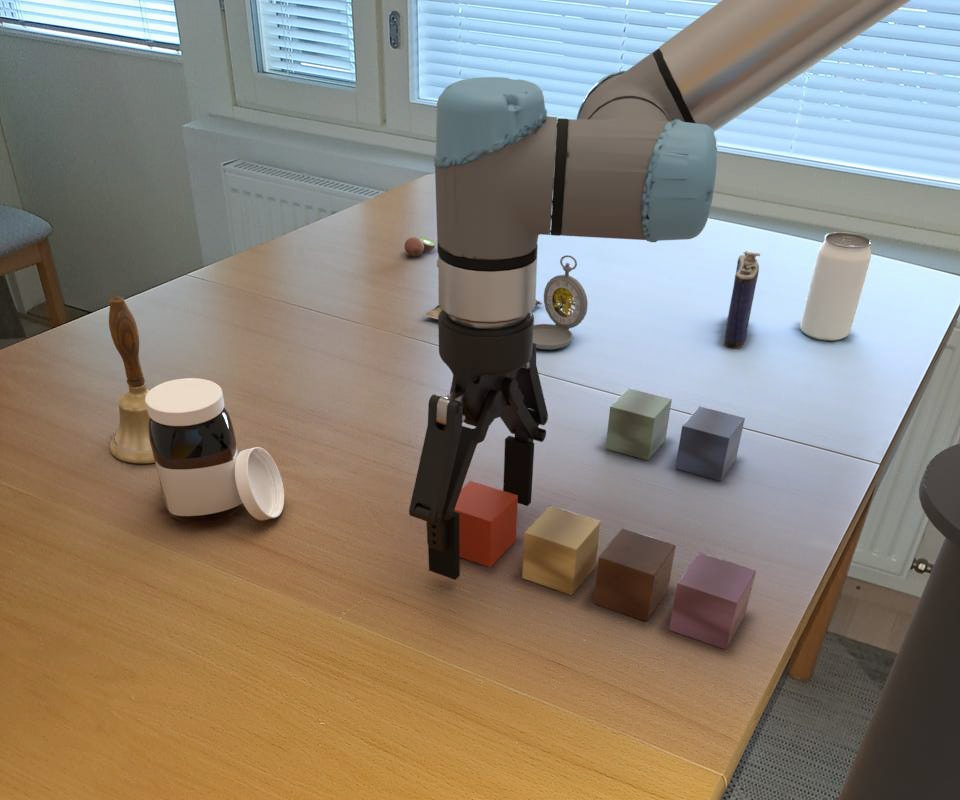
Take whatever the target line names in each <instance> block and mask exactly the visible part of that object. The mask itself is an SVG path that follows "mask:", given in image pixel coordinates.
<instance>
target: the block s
mask: <svg viewBox="0 0 960 800" xmlns="http://www.w3.org/2000/svg"><path fill="white" fill-rule="evenodd" d="M518 505H519V503H518V495H515V494H512V493H509V492H505V491H503V489H498V488H496V487H493V486H489V485H486V484H482V483H480V482H476V481H473V480H470V481H468V482H467V483H466V484H465V485H463V486H462V489H461V492H460V495H459V498H458V501H457V504H456V507H455V510H454V512H457V513H459V535H460V558H462V559H465V560H467V561H470V562H474V563H476V564H479V565H482V566H485V567H487V568H491V567H493V565H494V564H495V563H496V562H497V561H498V560H499V559H501V557H502V556H503V555H504V554H505V553H506V552H507V550H508V549H510V547H511V546H512V545H513V544H514V543H515V542H516V541H517V525H518V524H517V523H518Z"/></svg>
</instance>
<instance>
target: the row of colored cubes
mask: <svg viewBox="0 0 960 800" xmlns="http://www.w3.org/2000/svg"><path fill="white" fill-rule="evenodd" d="M600 530H601V520H598V519H595V518H592V517H589V516H586V515H582V514H579V513H576V512H573V511H570V510H567V509H564V508H560V507H557V506H554V505H549V506H548V507H547V508H546V509H545V510H544V511H543V512H542V513H541V514H540V515H539V517H537V519H535V521H534V522H533V523H532V524H531V525H530V526H529V527H528V528H527V529H526V530H525V531H524V535H523V538H524V539H523V552H522V553H523V555H522V570H521V571H522V572H521V573H522V575H521V579H523V580H527V581H529V582H531V583H535V584H537V585H540V586H542V587H543V586H544V587H546V588H549V589H552V590H555V591H558V592H560V593H564V594H565V595H569V596H573V595H574V594H575V593H576V592H577V590H578V589H579V587H580V586H581V585H582V584H583V583H584V581H586V579H587V578H588V577H589V575H590V574H591V573H592V572H593V570H594V569H595V568H596V566H597V569H596V576H595V586H594V594H593V604H595V605H598V606H601V607H604V608H606V609H609V610H612V611H614V612H617V613H620V614H623V615H626V616H628V617H629V616H630V617H631V618H635V619H638V620H640V621H644V622H647V621H648V620H649V619H650V618H651V616H652V614H653V613H654V612H655V610H656V609H657V607H658V606H659V604H660V603H661V602H662V600H663V598H664V597H665V595H666V594H667V592H668V591H669V586H670V580H671V574H672V569H673V564H674V558H675V553H676V548H677V547H676V546H677V545H676V544H674V543H671V542H667V541H664V540H661V539H658V538H655V537H652V536H649V535H646V534H643V533H639V532H637V531H633V530H630V529H627V528H621V529H620V530H619V531H618V532H617V534H616V535H615V536H614V538H613V539H611V541H610V543H608V545H606V547H605V548H604V550H603V551H602V552H601V553H600V555H599V556H598V550H599V549H598V548H599V539H600V532H601V531H600ZM597 557H598V559H597ZM756 573H757V570H756V569H754V568H751V567H747V566H744V565H741V564H737V563H734V562H732V561H729V560H726V559H722V558H719V557H716V556H712V555H710V554H706V553H703V552H697V554H696V556H695V557H694V559H692V561H691V562H690V564H689V565H688V567H687V569H686V570H685V572H684V573H683V575H682V576H681V577H680V579H679V580H678V582H677V583H676V584H677V585H676V591H675V596H674V599H673V607H672V610H671V617H670V621H669V628H668V630H669V631H672V632H674V633H676V634H677V633H678V634H680V635H683V636H686V637H689V638H692V639H694V640H696V641H699V642H702V643H706V644H708V645H711V646H714V647H717V648H718V649H719V648H720V649H723V650H727V648H728V647H729V645H730V643H731V641H732V640H733V638H734V635H735V634H736V633H737V631H738V629H739V627H740V626H741V624H742V622H743V620H744V619H745V617H746V612H747V609H748V604H749V600H750V598H751V597H750V596H751V593H752V589H753V585H754V581H755V577H756V575H757V574H756Z"/></svg>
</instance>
